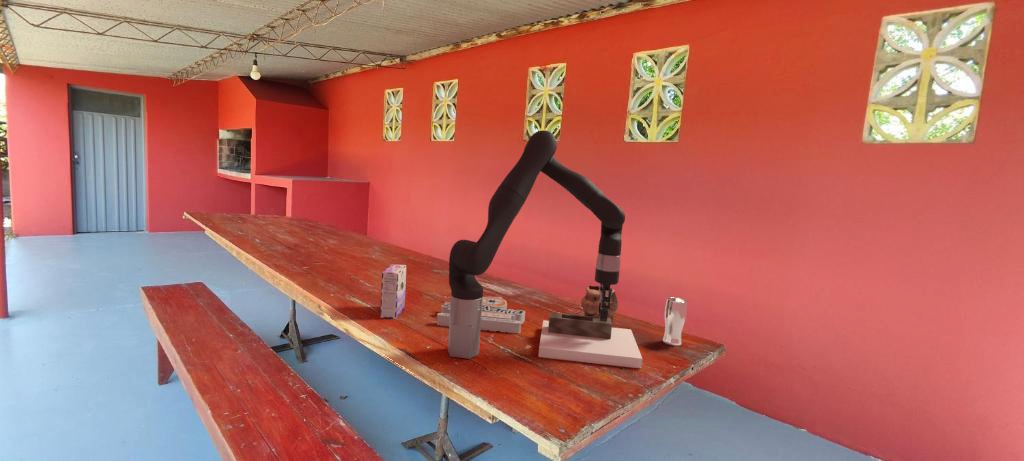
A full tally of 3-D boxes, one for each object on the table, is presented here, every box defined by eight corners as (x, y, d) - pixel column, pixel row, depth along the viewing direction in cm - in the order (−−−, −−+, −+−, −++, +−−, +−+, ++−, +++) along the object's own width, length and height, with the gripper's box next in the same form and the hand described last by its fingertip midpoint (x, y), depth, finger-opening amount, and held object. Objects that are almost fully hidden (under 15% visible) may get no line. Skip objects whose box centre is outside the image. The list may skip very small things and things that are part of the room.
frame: (609, 332, 163) (610, 318, 162) (610, 339, 157) (612, 324, 157) (548, 326, 165) (549, 312, 165) (548, 332, 159) (549, 317, 159)
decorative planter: (593, 315, 192) (597, 280, 190) (623, 322, 186) (627, 286, 184) (571, 327, 175) (575, 289, 173) (604, 335, 169) (608, 296, 167)
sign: (433, 314, 167) (452, 292, 197) (432, 326, 168) (452, 302, 197) (522, 323, 164) (528, 299, 194) (521, 335, 165) (527, 309, 194)
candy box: (389, 306, 184) (391, 263, 182) (405, 307, 184) (407, 264, 182) (379, 318, 170) (381, 271, 168) (396, 319, 170) (398, 272, 168)
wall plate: (641, 368, 143) (643, 347, 142) (538, 356, 146) (540, 335, 145) (630, 337, 169) (632, 319, 168) (542, 328, 172) (544, 310, 171)
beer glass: (657, 340, 168) (662, 298, 166) (668, 337, 172) (673, 295, 170) (675, 347, 163) (680, 303, 161) (686, 343, 167) (692, 301, 165)
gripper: (621, 273, 150) (616, 325, 152) (617, 265, 164) (612, 312, 166) (597, 271, 151) (591, 322, 153) (594, 262, 165) (589, 309, 167)
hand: (602, 317), depth 159 cm, fingers open, 8 cm apart
